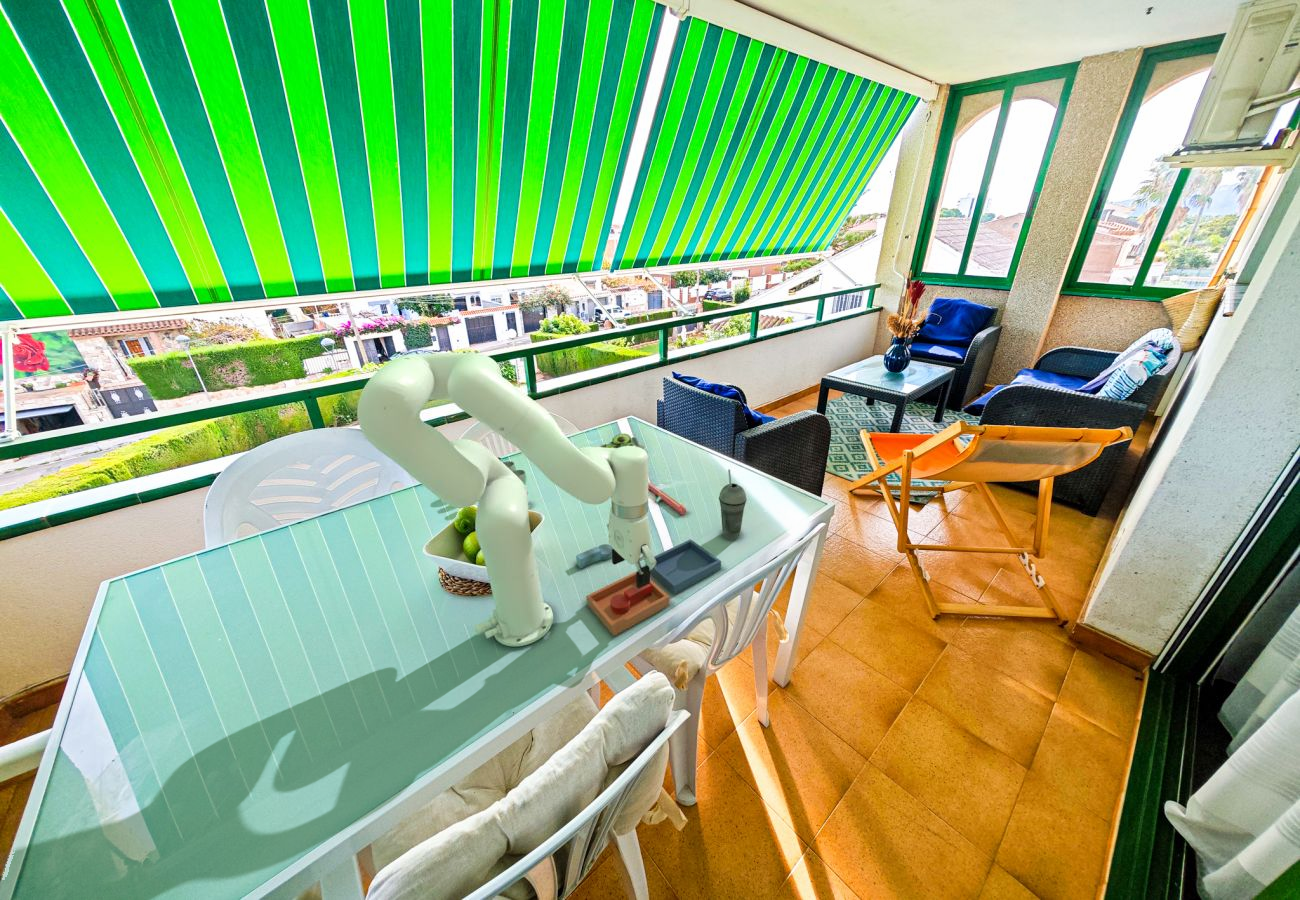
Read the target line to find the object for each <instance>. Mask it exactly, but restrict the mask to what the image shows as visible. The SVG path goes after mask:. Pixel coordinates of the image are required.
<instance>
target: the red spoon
mask: <svg viewBox="0 0 1300 900" xmlns="http://www.w3.org/2000/svg"><path fill="white" fill-rule="evenodd" d="M651 595H652V589H651V585H650V584H648V585H646V586H643V587H641V588H639V589H638V588H637V587H636V586H634V587H632V588H630V589H628V590H626V591H624V594H618V595H615V596H614V597H612V599H611V601H610V604H611V610H612V612H613V613H615V614H625V613H627V612H628V611H629V610H630V608H631V606H632V605H634V604H636V603H638V602H639V601H641V600H643V599H645V598H647V597H649V596H651Z"/></svg>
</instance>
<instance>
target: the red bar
mask: <svg viewBox="0 0 1300 900" xmlns="http://www.w3.org/2000/svg"><path fill="white" fill-rule="evenodd" d="M648 490H650V491H651V492H653V494H655V495H656V496H658V497H657V498H656V500H655V501H656V503H659V502H660V501H663V502H664V503H665V504H667V505H669V507H671V508H672V509H673V510H674V511H676V512H677V513H679V514H680V515H682V516H684V515H685V514H686V513H688V511H687V509H686V507H685V506H684V502H681V504H680V502H677V500H675V499H674V498H672V497H671V496H669V495H668V494H666V492H664V491H662V490H661V489H659V488H657V487H656V486H654V485H653V484H652V483H651V482H649V481H648Z"/></svg>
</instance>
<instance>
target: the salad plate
mask: <svg viewBox="0 0 1300 900" xmlns="http://www.w3.org/2000/svg"><path fill="white" fill-rule="evenodd" d="M623 446H636V447H640V448H642V449H644V450H645V451H646V446H645V444H643V443H641V442H639V441H638V439H637V438H636V437H633V436H632V437H631V435H630V434H628V433H619V434H617V435H614V436H613V437H612V440H611V441H608V442H605V443H602V444H600V445H598V447H604V448H619V447H623Z"/></svg>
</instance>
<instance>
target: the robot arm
mask: <svg viewBox="0 0 1300 900" xmlns="http://www.w3.org/2000/svg"><path fill="white" fill-rule="evenodd" d="M430 400H431V401H432V400H451V402H452V403H454V405H456V406H457V407H458V408H459V409H460V410H462V411H463V412H465V413H466V414H468V415H469V416H471V417H472V418H473V419H475V420H476V421H478V422H479V423H480V424H483V426H486V427H487V428H489V429H490V430H491V431H493V432H494V433H496V434H497V435H499V436H500V437H501V438H503V439H504V440H506V441H507V442H509V444H512V445H513V446H514V447H516V448H517V449H518V450H519V451H520V452H521V454H523V456H524V457H525V458H526V459H527V461H529V462H530V463H531V464H533V466H535V467H536V469H537V470H539V472H541V474H542V475H544V476H545V477H546V478H547V479H548V480H549V481H550V482H552V483H553V484H554V485H556V486H557V487H558V488H560V489H561V490H562V491H564V492H565V493H567V494H568V495H569V496H572V497H573V498H574V499H576V500H578V501H580V502H582V503H584V504H587V505H600V504H604V503H606V502H607V501H608V500H610V499H611V505H610V506H611V507H610V510H609V517H608V523H607V525H606V526H607V530H608V531H607V532H608V544H609V545H611V548H613V549H612V558H611V563H612V565H618V564H620V563H622V562H624V561H626V562H627V563H628V564H630V565H635V567H636V570H637V571H638V572H636V571H635V572H636V587H637V588H638V589H639V588H641V587H643V586H646V585H648V584H649V583H650V579H651V573H650V570H652V569H654V567H655V565H656V563H657V562H656V560H655V558H654V555H653V553H652V552H651V550H652V549H651V548H652V545H651V543H652V541H651V528H650V521H649V516H648V514H649V488H648V482H649V466H650V465H649V463H650V462H649V454H648V453H647V451H646V449H645V450H644V449H642V448H640V447H636V446H623V447H619V448H604V447H599V446H583V447H580V448H578V447H576V446H575V445H574V444H573V442H572V441H570V439H569V438H568V437H567V436H566V434H565V433H564V432H563V431H562V429H561V427H560V426H559V424H558V423H557V422H556V420H555V419H554V417H553V416H552V415H551V414H550V412H549V411H548V410H547V409H546V408H545V407H543V406H542V404H541V405H540V404H539V403H538V402H537V401H535V400H534V399H532V397H530V396H529V395H527V394H526V393H525V392H523V391H522V390H521V389H519V388H518V387H517V386H516V385H514V384H512V382H510V381H509V380H508V379H506V378H505V377H503V373H502V370H501V368H500V365H499V364H498V363H497V361H496V360H494V359H493V358H492V357H490V356H489V355H486V354H484V353H478V352H457V353H456V352H454V353H453V352H451V353H450V352H449V353H412V354H411V353H410V354H403V355H400V356H397V357H395V358H393V359H391V360H390V361H388V362H387V363H386V364H385V365H384V366H383V367H381V368H380V369H379V370H377V372H375V373H374V374H373V375H372V376H371V377H370V378H369V380H368V381H367V382H366V384H365V385H364V387H363V389H362V391H361V394H360V396H359V399H358V403H357V410H356V411H357V412H356V416H357V421H358V425H359V428H360V430H361V432H362V434H363V436H364V437H365V439H366V440H367V442H369V443H370V444H371V445H372V446H373V447H374V448H375V449H376V450H378V451H379V452H381V453H382V454H383V455H385V456H386V457H387V458H388V459H389V460H391V461H393V462H394V463H395V464H397V466H399V467H400V468H401V469H403V470H404V471H405V472H406V473H407V474H409V475H410V477H412V478H413V479H415V480H416V481H417V482H419V484H421V485H422V486H423V487H425V488H426V489H427V490H428V491H429V492H431V493H432V494H433V495H435V497H437V498H438V499H439V500H440V501H442V502H443V503H445V504H446V505H448V506H450V507H452V508H456V509H467V508H469V507H472V506H474V505H475V504H477V507H476V514H475V523H474V524H475V527H474V528H475V536H476V539H477V543H478V545H479V548H480V550H481V554H482V556H483V560H484V563H485V569H486V572H487V576H488V579H489V580H488V581H489V584H490V589H491V593H492V599H493V602H494V607H495V609H494V610H492V615H493V616H490V617H488V618H489V619H488V620H486V621H484V622H480V623H478V624H476V625H474V629H475V633H476V635H477V636H480V635H482V634H483V633H484V635H485V638H486V639H490V638H491V637H493V636H494V639H495V640H496V641H497V642H498V643H500V644H501V645H503V646H506V647H513V648H514V647H524V646H527V645H530V644H532V643H534V642H537V641H538V640H540V639H541V638H544V636H546V634H547V633H548V632H549V630H551V627H552V625H553V623H554V614H553V613H554V612H553V610H552V607H550V605H549V604H548V603H547V602H544V599H543V598H544V597H543V593H542V587H541V582H540V575H539V569H538V564H537V559H536V553H535V548H534V542H533V537H532V532H531V525H530V516H529V509H528V503H529V497H528V491H527V488H526V485H524V484H523V482H522V481H521V480H520V479H519V478H518V477H517V476H516V475H515V474H514V473H513V472H512V471H511V470H510V469H509V468H508V467H507V466H506V465H504V464H503V463H502V462H503V461H502V462H501V461H500V460H499V459H498V458H497V456H496V455H495V454H493V452H491V451H490V450H489V449H488V448H487V447H486V446H484V445H483V444H482V443H479V442H477V441H476V440H472V439H466V438H460V439H454V440H452V441H450V440H449V439H448V438H447V437H446V436H444V434H443V433H442V432H440V431H439V430H438V429H436V427H434V426H432V425H431V424H428V423H426V422H424V421H423V420H422V419H421V416H420V415H421V412H422V410H423V408H424V407H425V406H426V404H427V403H428V402H429V401H430ZM641 555H642V556H641ZM642 561H644V564H646V566H645V565H644V566H643V567H642V564H641V562H642Z"/></svg>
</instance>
